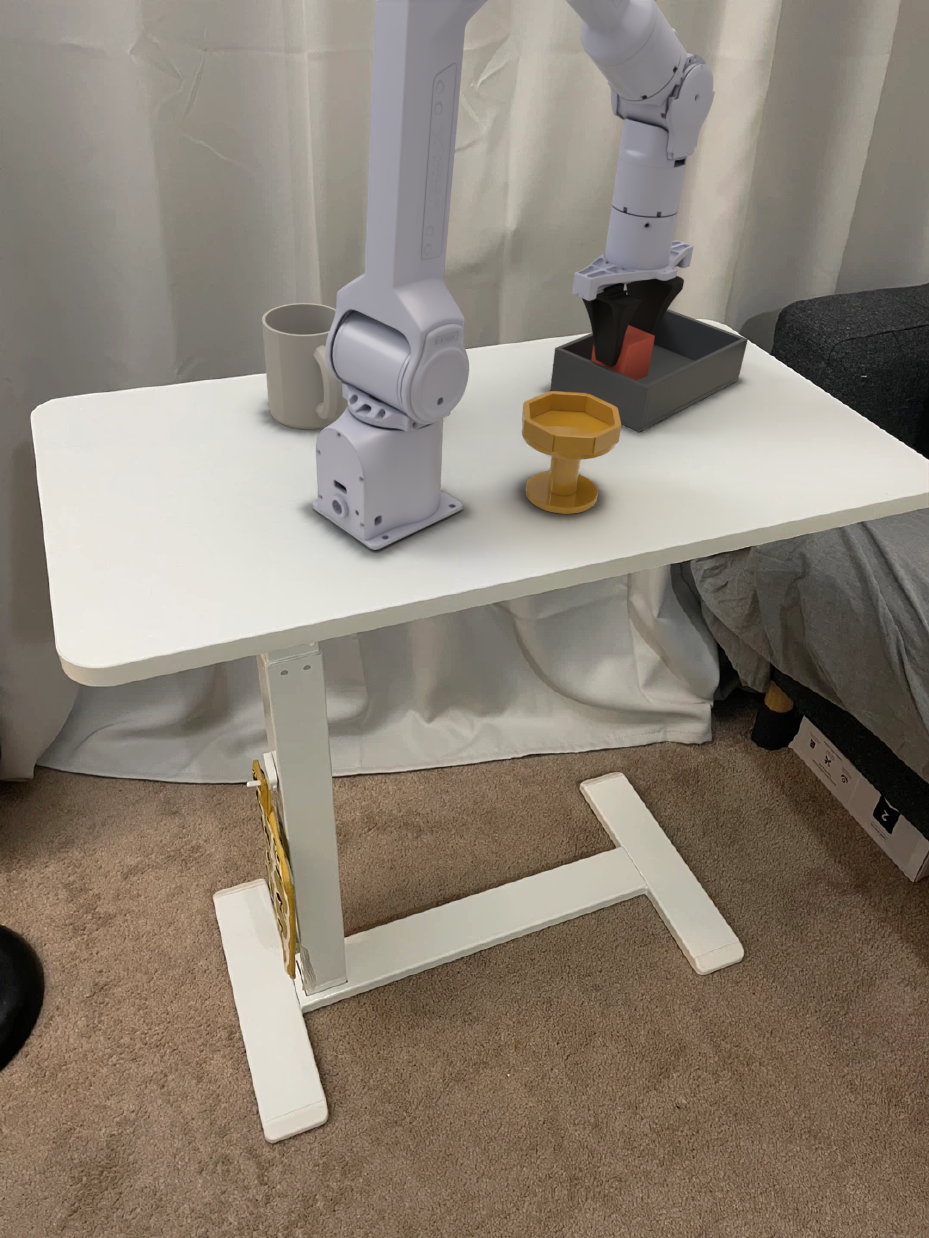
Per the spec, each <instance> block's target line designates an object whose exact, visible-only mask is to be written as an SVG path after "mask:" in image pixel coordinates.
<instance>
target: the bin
mask: <svg viewBox="0 0 929 1238" xmlns="http://www.w3.org/2000/svg"><path fill="white" fill-rule="evenodd" d="M654 336H655V338H654V344H653V349H652V355H651V360H650V366H649V371H648V375H647V376H645V377H643V378H640V379H638V380H635V379H632V378H630V377H628V376H625V375H623V374H621V373H618V372H616V371H614V370H611V369H609V368H607V367H604V366H602V365H600V364H597V363H595V362H593V361H591V360H592V352H593V345H594V341H593V333H592V332H591V333H587V334H586V335H583V336H581V337H579V338H576V339H573V340H570V341H568V342H567V343H564V344H562V345H559V346H557V347H554V354H553V361H552V363H553V364H552V371H551V380H550V387H549V391H550V392H551V391H560V392H577V393H587V394H591V395H593V396H595V397H597V398H599V399H601V400H604V401H606V402H608V403H610V404H612V405H614V406H616V407H617V408H618V411H619V416H620V421H621V425H623V426H625V427H628V428H629V429H632V430H634V431H637V432H639V433H640V432H642V431H644V430H646V429H648V428H650V427H652V426H654V425H656V424H658V423H659V422H662V421H664V420H665V419H667V418H669V417H671V416H674V415H675V414H677V413H679V412H681V411H682V410H685V409H686V408H688V407H690V406H692V405H695V404H696V403H698V402H699V401H701V400H703V399H705V398H707V397H710V396H711V395H714V394H715V393H717V392H718V391H721V390H723V389H725V388H727V387H728V386H730V385H732V384H733V383H736V382H738V381H739V378H740V374H741V370H742V365H743V362H744V358H745V357H744V356H745V353H746V349H747V345H748V342H749V341H748V338H747V337H743V336H741V335H738V334H735V333H734V332H731V331H728V330H726V329H722V328H720V327H717V326H714V325H712V324H710V323H706V322H704V321H701V320H698V319H696V318H693V317H690V316H688V315H685V314H682V313H679V312H677V311H675V310H672V309H669V308H668V309H667V311H666V312H665V314H664V316H663V318H662V320H661V322H660V324H659V326H658V328H657V330H656V332H655V335H654Z"/></svg>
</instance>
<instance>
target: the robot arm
mask: <svg viewBox="0 0 929 1238" xmlns="http://www.w3.org/2000/svg"><path fill="white" fill-rule="evenodd" d="M374 1H375V2H374V25H373V26H374V27H373V28H374V29H373V53H372V54H373V55H372V77H371V78H372V81H371V101H370V102H371V103H370V104H371V105H370V126H369V127H370V130H369V153H368V154H369V157H368V177H367V178H368V181H367V208H366V231H365V232H366V233H365V257H364V273H362V274H361V275H359V276H357V277H356V278H355V279H353V280H352V281H350V282H348V283H347V284H345V285H344V286H342V287H341V288H340V289H339V290H338V291H337V292H336V304H335V309H336V313H335V317H334V321H333V323H332V326H331V328H330V331H329V333H328V337H327V341H326V348H325V356H326V362H327V365H328V368H329V370H330V372H331V373H332V375H333V376H334V377H335V378H336V379H337V380H339V381H341V382H342V394H343V397H344V398H345V399H346V400H347V401H348V403H347V408H346V410H345V411H344V413H343V414H342V415H341V416H340V417H339V418H338V419H337V420H336V421H335V422H333V423H332V424H331V425H329V426H327V427H324V428H322V429H321V431H320V432H319V433H318V435H317V438H316V442H315V459H316V479H317V480H316V481H317V484H316V485H317V500H314V501H313V502H312V509H313V510H314V511H316V512H317V513H319V514H320V515H321V516H323V517H324V518H326V519H327V520H329V521H330V522H331V523H333V524H335V526H338V528H340V529H342V530H343V531H344V532H346V533H348V534H349V535H350V536H352V537H353V538H355V539H356V540H357V541H359V542H360V543H362V544H363V545H364V546H366V547H367V548H369V549H371V550H374V551H376V550H380V549H382V548H384V547H387V546H388V545H390V544H394V543H395V542H397V541H399V540H402V539H403V538H406V537H408V536H410V535H411V534H414V533H416V532H419V531H421V530H423V529H425V528H426V527H429V526H431V525H432V524H433V525H434V524H435V523H438V522H439V521H441V520H444V519H445V518H448V517H450V516H452V515H453V514H456V513H458V512H461V511H462V510H463V507H464V505H463V504H464V503H463V502H461V501H460V500H458V499H457V498H455V497H453V496H452V495H450V494H448V493H447V492H445V491H443V490H442V488H441V486H442V485H441V484H442V465H443V464H442V462H443V443H444V441H443V437H444V419H445V418H446V417H449V416H450V415H451V414H452V411H453V410H454V409H456V407H457V406H458V404H459V403H460V401H461V400H462V399H463V396H464V394H465V392H466V389H467V385H468V381H469V377H470V376H469V375H470V360H469V355H468V352H467V350H466V346H465V326H466V319H465V317H464V314H463V312H462V311H461V309H460V308H459V305H458V304H457V303H456V300H455V299H454V297H453V296H452V294H451V292H450V291H449V289H448V287H447V285H446V282H445V269H446V258H447V247H448V235H449V234H448V233H449V222H450V209H451V200H452V199H451V198H452V188H453V187H452V186H453V174H454V164H455V163H454V162H455V151H456V141H457V129H458V128H457V127H458V116H459V104H460V93H461V83H462V69H463V58H464V45H465V35H466V27H467V24H468V22H469V21H470V20H471V19H472V18H473V16H474V15H475V14H477V12H478V11H480V10H481V8H482V7H484V6H485V4H486V3H487V2H488V1H489V0H374ZM565 2H566V3H567V4H568V5H569V6H570V7H571V8H572V10H573V11H574V12H575V13H576V14H577V15H578V17H579V18H580V19H581V20H582V23H581V26H580V41H581V45H582V48H583V50H584V52H585V53H586V54H587V55H588V57H589V58H590V60H591V61H592V63H594V65H595V66H596V68H597V69H598V70H599V72H600V73H601V74H602V75H603V76H604V78H605V80H607V84H608V86H609V88H610V105H611V110H612V113H613V115H614V116H615V117H618V118H619V119H620V120H622V128H621V135H620V143H619V149H618V150H619V151H618V155H617V156H618V157H617V164H616V172H615V178H614V185H613V192H612V199H611V206H610V212H609V213H610V214H609V221H608V227H607V235H606V243H605V250H604V252H603V253H601V254H600V255H599V256H597V258H595V259H594V260H593V261H592V262H591V263H589V264H588V265H587V266H586V267H584V268H582V269H581V270H578V271H575V272H574V275H573V276H574V277H573V282H572V283H573V284H572V292H571V294H572V295H573V296H576V297H578V298H581V300H582V302H583V304H584V307H585V309H586V312H587V315H588V318H589V323H590V327H591V333H593V341H594V350H595V358H596V360H597V361H600V362H602V363H604V364H606V365H608V366H614V365H616V363H617V361H618V359H619V356H620V353H621V350H622V346H623V341H624V337H625V333H626V330H627V327H628V325H630V326H632V327H635V328H637V329H639V330H642V331H644V332H647V333H649V334H652V335H655V332H656V330H657V328H658V326H659V324H660V322H661V320H662V318H663V316H664V314H665V312H666V311H667V309H669V307H670V306H671V304H672V303H673V302H674V300H675V299H676V297H678V295H679V294H680V293H681V292H682V291H683V288H684V284H685V279H684V278H683V277H681V276H678V268H679V269H687V268H688V267H691V262H692V256H693V251H694V245H693V244H690V243H687V242H684V241H681V240H678V239H675V240H674V235H675V229H676V223H677V219H678V214H679V208H680V202H681V196H682V191H683V186H684V181H685V180H684V179H685V174H686V169H687V165H688V164H687V163H688V159H689V157H690V156H692V155H693V154H694V153H695V148H697V146H698V141H699V136H700V132H701V129H702V127H703V124H704V123H705V121H706V119H707V118H708V115H709V113H710V110H711V108H712V105H713V102H714V99H715V93H716V92H715V91H714V77H713V72H712V69H711V68H710V66H709V65H707V62H706V61H705V59H704V58H703V56H701V55H699V54H694V53H690V52H689V53H688V52H686V49H685V48H684V46H683V45H682V42H681V41H680V39H679V38H680V35H679V33H678V31H677V30H676V29H675V28H673V27H672V26H671V25H670V23H669V22H668V20H667V19H666V17H665V15H664V14H663V12H662V10H661V9H660V7H659V5H658V4H657V0H565ZM625 286H626V289H625Z"/></svg>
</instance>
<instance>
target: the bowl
mask: <svg viewBox="0 0 929 1238" xmlns="http://www.w3.org/2000/svg"><path fill="white" fill-rule="evenodd" d="M621 430H622V424H621V421H620V416H619V411H618V408H617V407H616V406H614V405H612V404H610V403H608V402H606V401H604V400H601V399H599V398H597V397H595V396H593V395H591V394H587V393H577V392H560V391H550V390H549V391H546V392H544V393H542V394H539V395H536V396H534V397H532V398H529V399H526V400H524V401H523V403H522V414H521V436H522V438H523V441H524V442H525V443H526V444H527V445H528V446H530V448H532V449H533V450H535V451H537V452H539V453H541V454H544V455H546V456H549V457H550V464H549V470H545V471H540V472H538V473H535V474H533V475H532V476H530V478H528V480H527V482H526V484H525V496H526V498H527V500H528V501H529V502H530V503H531V504H532V505H534V506H535V507H537V508H539V509H541V510H543V511H547V512H549V513H554V514H561V515H562V514H563V515H570V514H573V515H574V514H579V513H583V512H585V511H588V510H589V509H592V508H593V507H594V506H595V504H596V503H597V501H598V495H599V491H598V487H597V485H596V484H595V483H594V482H593V481H592V480H591V479H589V478H588V477H586V476H584V475H582V474H581V473H580V467H581V461H583V460H590V459H595V458H599V457H603V456H605V455H606V454H608V453H610V452H611V451H612V450H613V449H614V448H615V446H616V445H617V444H618V443H619V442H620V437H621Z"/></svg>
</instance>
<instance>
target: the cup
mask: <svg viewBox="0 0 929 1238" xmlns="http://www.w3.org/2000/svg"><path fill="white" fill-rule="evenodd" d="M335 313H336V307H332V306H329V305H324V304H321V303H320V304H319V303H312V302H309V303H308V302H297V303H287V304H281V305H278V306H276V307H273V308H270V309H269V310H267V311H266V312H265V313H264V314H263V316H262V317H261V324H262V335H263V350H264V362H265V375H266V388H267V400H268V401H267V402H268V409H269V412H270V414H271V416H272V418H273V419H274V420H275V421H276V422H278V423H279V424H281V425H284V426H286V427H289V428H292V429H300V430H316V429H324V428H325V427H327V426H329V425H331V424H332V423H333V422H335V421H336V420H337V419H338V418H339V417H340V416H341V415H342V414H343V413H344V411H345V410H346V408H347V406H348V401H347V400H346V399H345V398H344V397H343V394H342V382H341V381H339V380H337V379H336V378H335V377H334V376H333V375H332V373H331V372H330V370H329V368H328V365H327V362H326V356H325V348H326V341H327V337H328V333H329V331H330V328H331V326H332V323H333V321H334V317H335Z"/></svg>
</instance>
